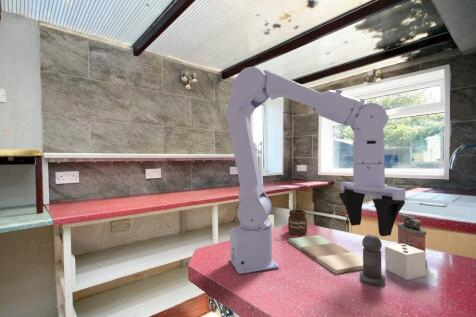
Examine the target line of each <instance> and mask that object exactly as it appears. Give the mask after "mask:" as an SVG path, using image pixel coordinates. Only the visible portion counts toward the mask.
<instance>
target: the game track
mask: <svg viewBox="0 0 476 317" xmlns="http://www.w3.org/2000/svg"><path fill="white" fill-rule="evenodd" d="M287 241H288V243H290V244H291V245H292V246H294V247H295V248H297V249H299V250H300V251H301V252H303V253H304V254H306V255H308V257H310V258H312V259H313V260H315V261H317V262H318V263H319V264H321V265H322V266H324V267H325V268H326V269H328V270H330V271H331V272H332V273H334V274H335V275H337V274H342V273H343V274H344V273H348V272H354V271H359V270H360V271H362V270H363V256H360V255H358V254H356V253H354V252H352V251H351V250H348V249H347V248H344V247H342V246H340V245H338V244H336V243H335V242H333V241H331V240H328V239H326V238H325V237H322V236H320V235H319V234H316V235H310V236H309V235H308V236H301V237H291V238H288V239H287Z"/></svg>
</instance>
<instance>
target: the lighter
mask: <svg viewBox="0 0 476 317" xmlns="http://www.w3.org/2000/svg"><path fill="white" fill-rule="evenodd" d="M399 219H400V220H402V221H403V222H397V223H396V227H397V244H402V243H403V244H406V245H409V246H411V247H414V248H417V249H420V250H423V251H425V262H426V266H427V259H426V254H427V253H426V236H427V230H426V229H423V228H421V226H422V224H421V223H422V222H421V220H419V219H417V217H416V216H410V215H409V214H408V215H407V214H405V213H401V214H400V217H399Z"/></svg>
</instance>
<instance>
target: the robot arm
mask: <svg viewBox="0 0 476 317" xmlns="http://www.w3.org/2000/svg"><path fill="white" fill-rule="evenodd" d="M281 97H283V98H286V99H289V100H292V101H294V102H297V103H298V102H299V103H301V104H304V105H306V106H310V107H313V108H315V110H316V112H317V115H318V116H320V117H322V118H324V119H327V120H330V121H332V122H335V123H338V124H340V125H342V126H345V127H349V126H350V128H351V130H352V131H353V141H352V167H353V169H352V174H353V175H352V178H353V181H340V190H341V191H343V192H340V193H339V194H338V197H339V198H340V199H341V202H342V203H343V205H344V207H345V211H346V213H347V215H348V216H347V217H348V220H349V223H350V226H353V227H354V226H360V225H361V223H362V210H363V204H364V203H363V202H364V201H365V200H364V199H365V196H366V195H370V196H373V197H374V196H376V197H378V198H372V203H373V205H374V208H375V211H376V215H377V225H378V227H377V228H378V234H379V236H380V237H388V236H391V235H392V231H393V227H394V224H395V222H396V219H397V217H398V215H399V213H400V211H401V210H402V208H403V207H404V205H405V203H406V201H405V200H406V189H405V188H401V187H400V188H399V187H397V186H392V185H388V184H386V183H385V182H386V181H385V180H386V176H385V172H386V171H385V169H386V168H385V140H384V139H385V138H384V137H385V136H384V135H385V134H384V133H385V131H384V129H385V127H386V125H387V124H388V122H389V115H388V114H387V111H386V109H384V107H383V106H382V105H380V104H379V103H375V102H368V103H367V102H366V100H365V99H363V98H359V99H357V98H354V97H351V96H350V95H345V94H344V93H343V90H342V89H338V88H337V89H335V91H334V90H332V89H329V90H327V91H324V92H319V91H318V90H315V89H313V88H311V87H308V86H305V85H303V84H302V83H301V84H300V83H298V82H296V81H294V80H292V79H289V78H287V77H284V76H281V75H279V74H277V73H274V72H272V71H270V70H267V69H266V70H265V69H263V71H262V69H261V68H258V67H255V66H248V67H245V68H243V69H242V70H241V71H240V72H239V73H238V74H237V76H236V77H235V78H233V80H232V89H231V93H230V97H229V100H228V103H227V107H226V110H225V111H226V112H225V113H226V120H227V124H228V130H229V135H230V140H231V144H232V150H233V151H232V152H233V155H234V160H235V167H236V171H237V175H238V183H239V190H238V201H239V202H238V204H239V205H238V209H237V220H238V221H239V223H240V224H239V226H235V227H232V228H231V229H230V232H229V247H230V248H229V251H230V253H229V254H230V257H229V261H230V262H231V264H232V266H233V267H234V269H235V270H236V273H237V274H240V275H241V274H247V273H254V272H261V271H266V270H267V271H268V270H273V269H278V268H279V267H280V265H279V264H278V263H277V262H276V261H275V260H274V259H273V242H272V240H273V238H272V236H273V235H272V233H273V232H272V222H271V221H270V218H269V216H270V214H271V213H272V209H273V205H272V201H271V200H270V198H269V197H268V196H267V194H266V189H265V186H264V185H263V182H262V178H261V174H260V170H259V163H258V159H257V153H256V148H255V142H254V139H253V133H252V128H251V123H250V117H251V115H252V114H253V113H254V112H255V110H256V109H257V108H259V107H260V106H262V105H263V104H264V103H265V102H267V101H268V100H269V98H270V100H272V101H273V100H277V99H278V98H281ZM365 102H366V103H365ZM380 197H381V198H380Z"/></svg>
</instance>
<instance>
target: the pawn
mask: <svg viewBox="0 0 476 317" xmlns="http://www.w3.org/2000/svg"><path fill="white" fill-rule="evenodd" d="M361 242H362V247H363V248H362V258H363V269H362V270H360V272H359V280H360V281H361V282H362V283H364V284H366V285H369V286H372V287H373V286H374V287H383V286H385V284H386V277H385V275H384V274H382V250H381V249H382V246H383V245H382V243H383V242H382V240H381V239H380V238H379V237H378V236H376V235H374V234H367V235H365V236H364V237H363V238H362V241H361Z"/></svg>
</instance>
